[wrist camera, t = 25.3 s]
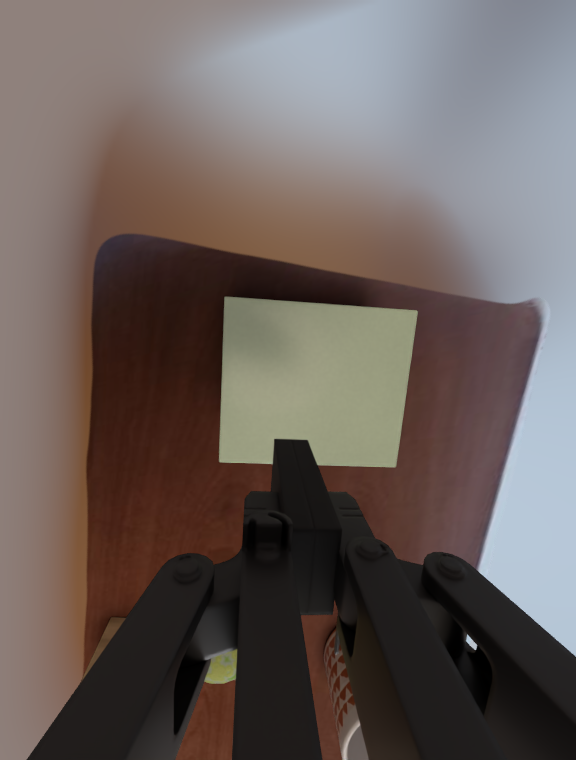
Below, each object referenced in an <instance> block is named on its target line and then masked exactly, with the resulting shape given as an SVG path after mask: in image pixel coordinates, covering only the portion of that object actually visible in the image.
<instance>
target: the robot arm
mask: <svg viewBox="0 0 576 760" xmlns="http://www.w3.org/2000/svg"><path fill="white" fill-rule="evenodd" d="M334 599H335V602H336V605H337V609H338V618H337V626H336V635H335V644H334V654H338V653H339V645H341V649H342V653H343V657H344V661H345V665H346V669H347V673H348V677H349V681H350V685H351V689H352V693H353V697H354V702H355V706H356V710H357V714H358V718H359V722H360V726H361V730H362V734H363V738H364V742H365V746H366V750H367V754H368V758H369V760H576V657H575V656H574V655H573V654H572V653H571V652H570V651H569V650H567V649H566V648H565V647H564V646H563V645H562V644H561V643H559V642H558V641H557V640H556V639H555V638H554V637H552V636H551V635H550V634H549V633H548V632H547V631H546V630H544V629H543V628H542V627H541V626H540V625H539V624H538V623H536V622H535V621H534V620H533V619H532V618H531V617H530V616H528V615H527V614H526V613H525V612H524V611H523V610H522V609H520V608H519V607H518V606H517V605H516V604H515V603H514V602H512V601H511V600H510V599H509V598H508V597H507V596H505V595H504V594H503V593H502V592H501V591H500V590H499V589H497V588H496V587H495V586H494V585H493V584H492V583H491V582H489V581H488V580H487V579H486V578H485V577H484V576H483V575H481V574H480V573H479V572H478V571H477V570H476V569H475V568H473V567H472V566H471V565H470V564H469V563H467V562H466V561H464V560H463V559H461V558H459V557H457V556H454V555H452V554H449V553H443V552H433V553H431V554H428V555H427V556H426V557H425V559H424V564H423V565H420V564H415V563H411V562H406V561H403V560H400V559H397V558H396V557H395V555H394V553H393V551H392V550H391V549H390V547H389V546H388V545H387V544H385V543H384V542H382V541H380V540H378V539H375V537H374V535H373V533H372V531H371V529H370V527H369V525H368V524H367V522H366V520H365V518H364V517H363V514H362V512H361V510H360V508H359V506H358V504H357V502H356V500H355V499H354V498H353V497H352V496H350V495H349V494H348V493H347V492H328V491H327V489H326V486H325V483H324V481H323V478H322V476H321V473H320V470H319V468H318V465H317V463H316V460H315V458H314V455H313V452H312V450H311V447H310V445H309V442H308V440H297V439H274V452H273V467H272V482H271V492H261V491H251V492H250V493H249V494H248V495H247V497H246V498H245V504H244V523H243V543H242V548H241V550H240V551H239V553H238V554H237V555H236V556H235V557H233V558H231V559H230V560H228V561H225V562H222V563H219V564H215V565H213V562H212V561H211V560H210V559H209V558H207V557H206V556H203V555H200V554H194V553H187V554H183V555H178V556H176V557H174V558H172V559H170V560H168V561H167V562H166V563H165V564H164V565H163V566H162V567H161V569H160V570H159V572H158V573H157V575H156V576H155V577H154V579H153V580H152V582H151V583H150V585H149V586H148V587H147V589H146V590H145V592H144V593H143V595H142V596H141V597H140V599H139V600H138V602H137V603H136V604H135V606H134V607H133V609H132V610H131V612H130V613H129V614H128V616H127V617H126V619H125V620H124V622H123V623H122V624H121V626H120V627H119V629H118V630H117V632H116V633H115V634H114V636H113V637H112V639H111V640H110V642H109V643H108V644H107V646H106V647H105V649H104V650H103V652H102V653H101V654H100V656H99V657H98V659H97V660H96V662H95V663H94V664H93V666H92V667H91V669H90V670H89V672H88V673H87V674H86V676H85V677H84V679H83V680H82V682H81V683H80V685H79V686H78V688H77V689H76V690H75V692H74V693H73V694H72V696H71V697H70V699H69V700H68V702H67V703H66V704H65V706H64V707H63V709H62V710H61V712H60V713H59V714H58V716H57V717H56V719H55V720H54V722H53V723H52V724H51V726H50V727H49V729H48V730H47V732H46V733H45V734H44V736H43V737H42V739H41V740H40V742H39V743H38V745H37V746H36V747H35V749H34V750H33V752H32V753H31V754H30V756H29V757H28V759H27V760H175V758H176V756H177V753H178V750H179V748H180V745H181V742H182V740H183V737H184V734H185V732H186V729H187V726H188V723H189V721H190V718H191V715H192V713H193V710H194V707H195V705H196V702H197V699H198V697H199V694H200V691H201V688H202V686H203V683H204V680H205V678H206V675H207V672H208V670H209V667H210V663H211V658H214V657H216V656H219V655H222V654H225V653H228V652H230V651H233V650H236V649H237V665H236V686H235V707H234V728H233V749H232V760H322V754H321V748H320V741H319V734H318V728H317V721H316V714H315V708H314V701H313V694H312V688H311V681H310V674H309V668H308V661H307V654H306V648H305V641H304V634H303V628H302V621H301V615H333V608H334ZM467 634H468V635H469V636H470V638H471V639H472V640H473V641H474V642H475V643H476V644H477V649H476V650H474V649H473V648H472V647H471V646H470V645H469V644H468V643H467V642H466V637H467Z"/></svg>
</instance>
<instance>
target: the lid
mask: <svg viewBox="0 0 576 760" xmlns="http://www.w3.org/2000/svg"><path fill="white" fill-rule="evenodd" d="M417 313H418V311H417V310H404V309H390V308H377V307H363V306H349V305H335V304H322V303H308V302H294V301H280V300H267V299H253V298H239V297H224V325H223V355H222V384H221V414H220V444H219V462H230V463H264V464H273V452H274V439H297V440H308V442H309V445H310V447H311V450H312V452H313V455H314V458H315V460H316V463H317V465H334V466H369V467H396V463H397V456H398V449H399V442H400V435H401V428H402V420H403V413H404V406H405V399H406V392H407V385H408V378H409V370H410V363H411V356H412V349H413V342H414V335H415V327H416V320H417Z"/></svg>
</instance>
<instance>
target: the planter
mask: <svg viewBox="0 0 576 760" xmlns="http://www.w3.org/2000/svg"><path fill="white" fill-rule="evenodd" d="M335 635H336V629H335V630H334V631H333V632H332V634H331V635H330V637H329V638H328V640H327V643H326V645H325V649H324V663H325V668H326V674H327V679H328V685H329V690H330V695H331V701H332V706H333V712H334V717H335V722H336V728H337V733H338V739H339V744H340V749H341V755H342V759H343V760H369V758H368V754H367V750H366V746H365V742H364V738H363V734H362V730H361V726H360V722H359V718H358V714H357V710H356V706H355V702H354V697H353V693H352V689H351V685H350V681H349V677H348V673H347V669H346V665H345V661H344V657H343V653H342V649H341V645H339V653H338V654H334V644H335Z"/></svg>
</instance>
